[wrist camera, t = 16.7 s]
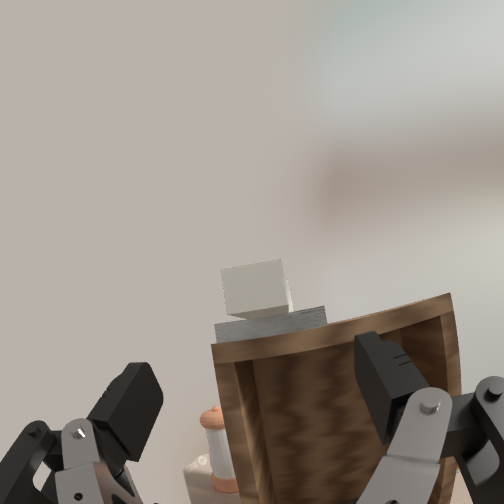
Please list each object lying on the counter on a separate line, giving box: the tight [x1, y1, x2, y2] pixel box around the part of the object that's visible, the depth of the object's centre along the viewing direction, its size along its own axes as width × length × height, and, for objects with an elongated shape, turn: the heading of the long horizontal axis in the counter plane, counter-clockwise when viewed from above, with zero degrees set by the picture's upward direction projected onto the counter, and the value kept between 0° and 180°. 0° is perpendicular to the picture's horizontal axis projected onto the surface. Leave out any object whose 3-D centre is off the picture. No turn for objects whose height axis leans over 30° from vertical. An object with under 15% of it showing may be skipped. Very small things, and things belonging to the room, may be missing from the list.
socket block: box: [215, 306, 328, 343], centre depth 32 cm, size 11×12×2 cm
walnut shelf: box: [211, 293, 461, 504], centre depth 27 cm, size 26×14×32 cm, turn 83°
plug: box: [221, 259, 294, 319], centre depth 28 cm, size 5×22×4 cm, turn 172°
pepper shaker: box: [200, 406, 239, 493], centre depth 43 cm, size 7×7×19 cm
